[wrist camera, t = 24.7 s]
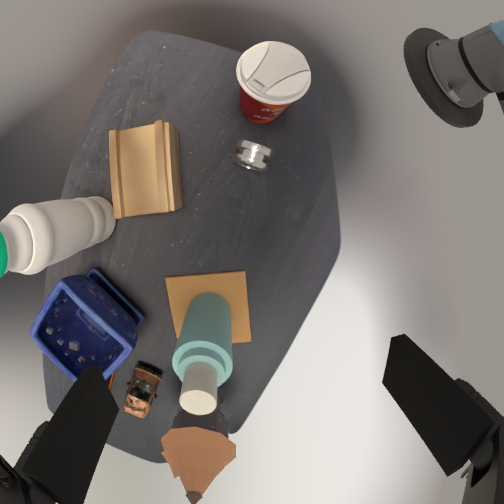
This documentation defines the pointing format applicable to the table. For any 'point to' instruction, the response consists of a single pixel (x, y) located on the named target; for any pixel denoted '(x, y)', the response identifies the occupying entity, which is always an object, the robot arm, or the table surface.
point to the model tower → (198, 448)
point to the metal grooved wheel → (252, 156)
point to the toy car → (141, 391)
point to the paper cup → (271, 79)
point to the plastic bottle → (203, 352)
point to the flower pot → (87, 324)
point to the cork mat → (219, 283)
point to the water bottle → (52, 232)
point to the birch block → (145, 170)
